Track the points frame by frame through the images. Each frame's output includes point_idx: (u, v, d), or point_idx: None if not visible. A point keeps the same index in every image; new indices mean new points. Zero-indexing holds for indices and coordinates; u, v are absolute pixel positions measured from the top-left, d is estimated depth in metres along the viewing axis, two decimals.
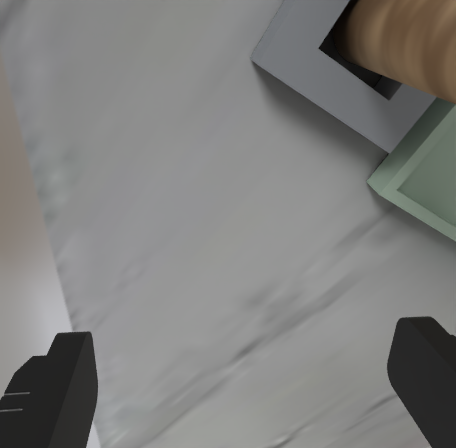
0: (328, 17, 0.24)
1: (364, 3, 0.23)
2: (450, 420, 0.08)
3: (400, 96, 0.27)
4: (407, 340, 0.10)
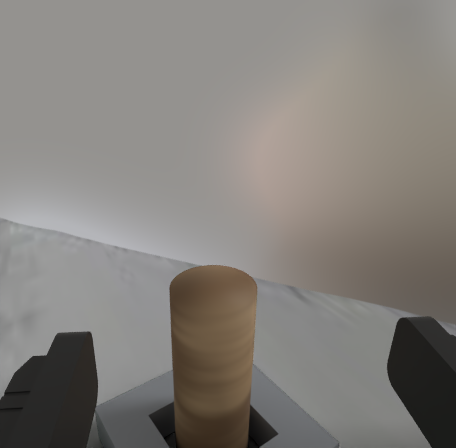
0: None
1: None
2: (450, 419, 0.08)
3: (146, 425, 0.26)
4: (407, 340, 0.10)
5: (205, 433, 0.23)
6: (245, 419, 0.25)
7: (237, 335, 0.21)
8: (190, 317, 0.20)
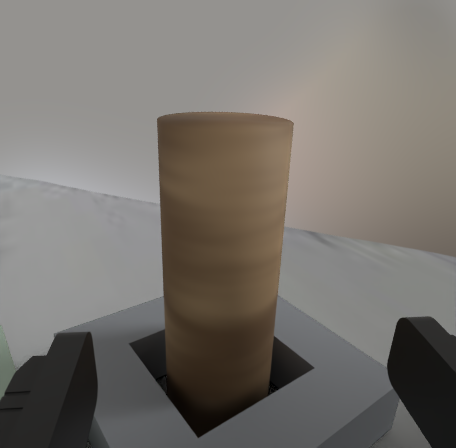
0: None
1: None
2: (450, 420, 0.08)
3: (124, 354, 0.18)
4: (407, 340, 0.10)
5: (210, 353, 0.15)
6: (269, 340, 0.17)
7: (263, 182, 0.13)
8: (188, 143, 0.13)
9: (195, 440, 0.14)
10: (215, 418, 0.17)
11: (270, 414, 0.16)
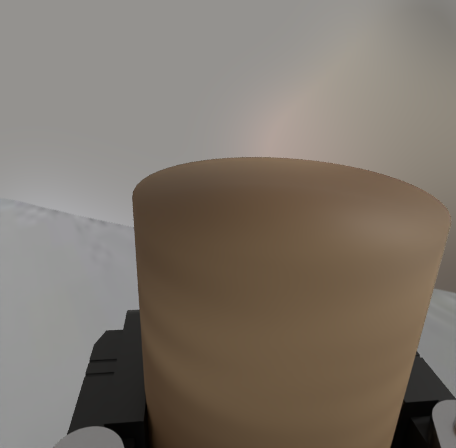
0: None
1: None
2: None
3: None
4: None
5: None
6: None
7: (394, 362, 0.05)
8: (210, 282, 0.05)
9: None
10: None
11: None
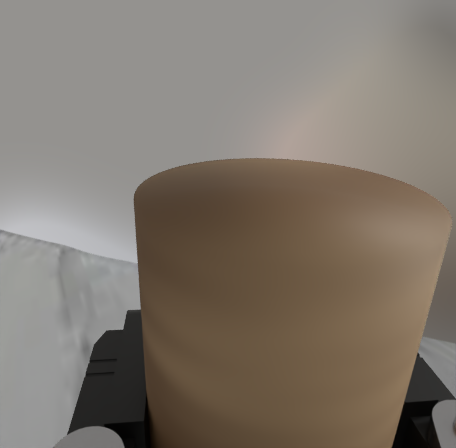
0: None
1: None
2: None
3: None
4: None
5: None
6: None
7: (395, 363, 0.05)
8: (212, 284, 0.05)
9: None
10: None
11: None
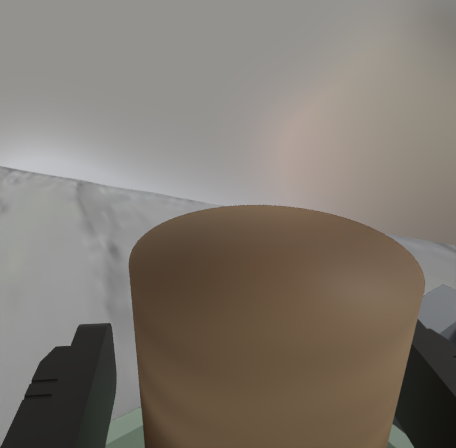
0: None
1: None
2: (424, 410, 0.09)
3: None
4: None
5: None
6: None
7: (372, 421, 0.06)
8: (200, 357, 0.05)
9: None
10: None
11: None
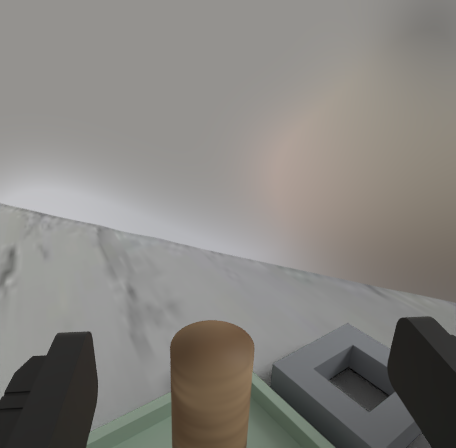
0: (369, 351, 0.41)
1: None
2: (451, 420, 0.08)
3: (314, 374, 0.38)
4: (407, 340, 0.10)
5: None
6: None
7: (234, 395, 0.22)
8: (190, 378, 0.21)
9: (368, 413, 0.34)
10: None
11: (395, 402, 0.35)
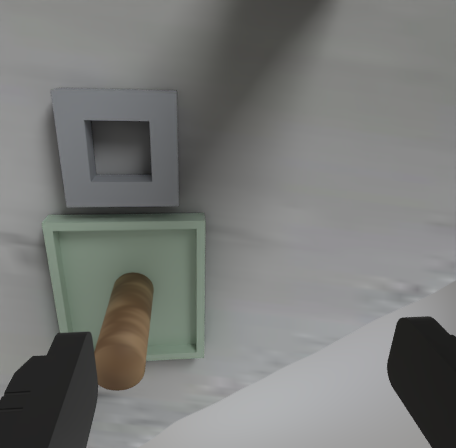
0: (101, 114, 0.39)
1: (130, 287, 0.45)
2: (450, 419, 0.08)
3: (97, 186, 0.41)
4: (407, 340, 0.10)
5: None
6: (148, 305, 0.45)
7: None
8: None
9: (152, 183, 0.42)
10: None
11: (158, 154, 0.41)
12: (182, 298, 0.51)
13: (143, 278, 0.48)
